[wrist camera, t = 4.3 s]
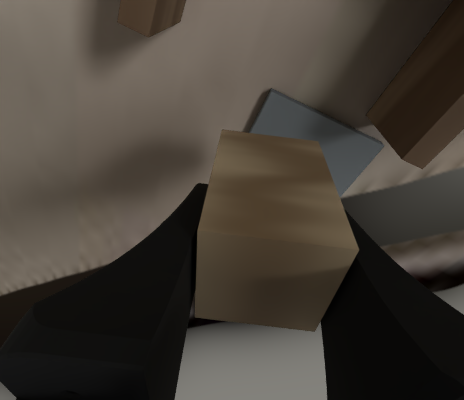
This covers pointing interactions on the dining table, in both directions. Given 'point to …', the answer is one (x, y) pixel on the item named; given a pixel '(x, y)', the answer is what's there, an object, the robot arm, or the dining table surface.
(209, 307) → the oak block
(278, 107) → the mat
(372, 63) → the dining table surface
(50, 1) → the dining table surface
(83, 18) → the dining table surface
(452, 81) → the brown wooden arch
